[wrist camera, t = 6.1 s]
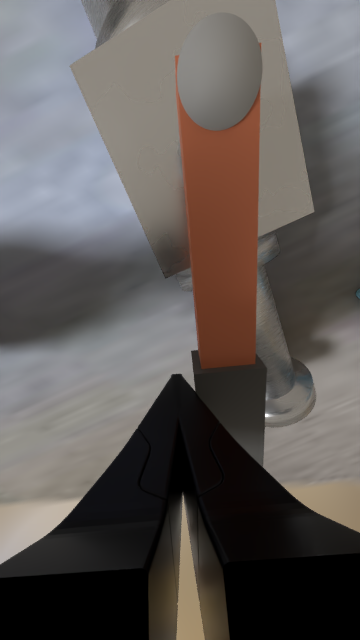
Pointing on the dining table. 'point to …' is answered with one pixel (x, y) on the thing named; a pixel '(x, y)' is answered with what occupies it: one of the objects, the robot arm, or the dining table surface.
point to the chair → (358, 293)
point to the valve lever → (224, 217)
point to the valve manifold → (165, 160)
